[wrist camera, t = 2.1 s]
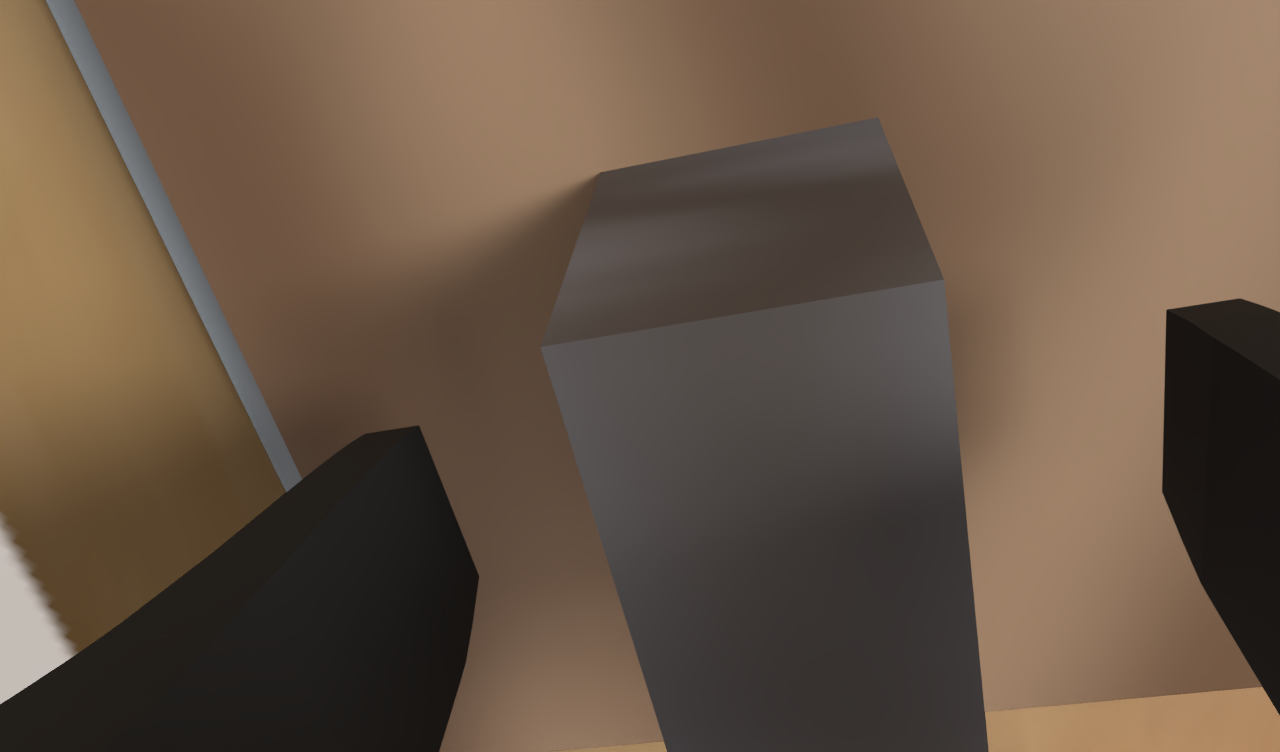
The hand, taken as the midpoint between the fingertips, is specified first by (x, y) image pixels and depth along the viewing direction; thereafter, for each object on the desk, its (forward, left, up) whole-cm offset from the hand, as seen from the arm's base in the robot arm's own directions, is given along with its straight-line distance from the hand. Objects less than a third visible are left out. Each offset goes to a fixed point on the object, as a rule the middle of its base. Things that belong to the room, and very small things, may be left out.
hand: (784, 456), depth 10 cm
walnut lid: (0, 0, -3) cm, 3 cm away
